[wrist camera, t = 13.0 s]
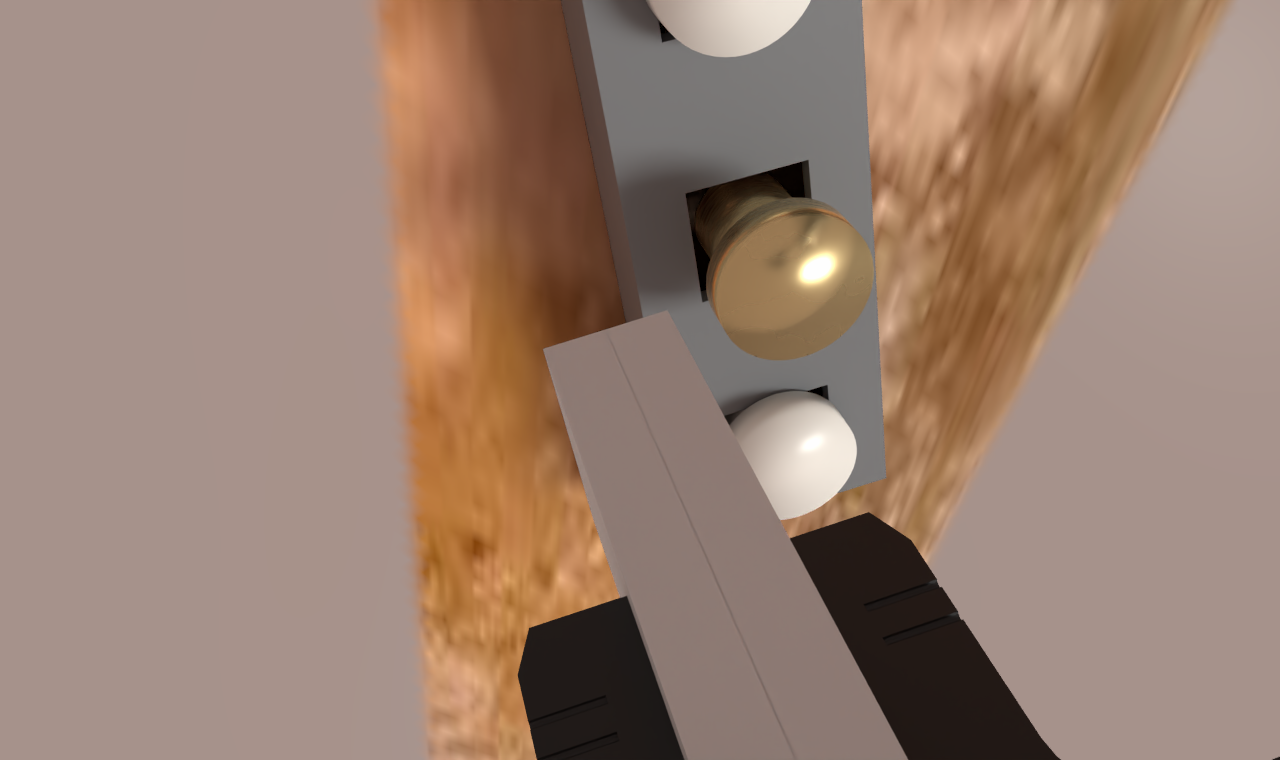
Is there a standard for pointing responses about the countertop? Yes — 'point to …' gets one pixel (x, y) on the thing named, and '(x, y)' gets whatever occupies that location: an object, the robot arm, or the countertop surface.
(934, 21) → the countertop surface
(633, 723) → the robot arm
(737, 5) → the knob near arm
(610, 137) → the console
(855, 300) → the brass knob
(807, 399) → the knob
